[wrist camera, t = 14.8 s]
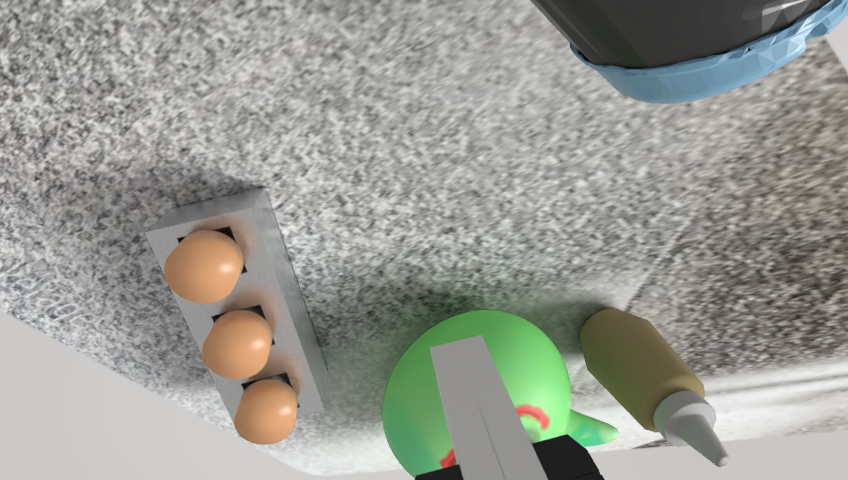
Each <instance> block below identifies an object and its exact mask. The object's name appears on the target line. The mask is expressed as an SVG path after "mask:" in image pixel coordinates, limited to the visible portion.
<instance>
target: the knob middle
mask: <svg viewBox="0 0 848 480" xmlns="http://www.w3.org/2000/svg"><path fill="white" fill-rule="evenodd" d="M272 340H273V334H272V329H271V327H270V325H269V324H268V322H267V321H266V318H265V316H264V313H263V310H262V308H261V305H256V306H252V307H248V308H243V309H239V310H235V311H231V312H228V313H225V314H223V315H222V316H220V317H219V318H218V319H217V320H216V321H215V323H214V324H213V326H212V328H211V330H210V332H209V334H208V336H207V338H206V340H205V342H204V344H203V347H202V356H203V359H204V362H205V364H206V365H207V366H208V368H209V369H210V370H211V371H213V372H214V373H216V374H217V375H219V376H222V377H225V378H229V379H244V378H248V377H251V376H253V375H255V374H257V373H258V372H259V371H260V370H261V369H262V368H263V367H264V366H265V364H266V362H267V359H268V355H269V351H270V348H271V344H272Z"/></svg>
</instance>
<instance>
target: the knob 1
mask: <svg viewBox="0 0 848 480" xmlns="http://www.w3.org/2000/svg"><path fill="white" fill-rule="evenodd" d="M243 265H244V259H243V255H242V252H241V250H240V248H239V246H238V245H237V243H236V241H235V238H234V236H233V233H232V230H231V228H230V226H228V227H224V228H219V229H215V230H202V231H197V232H194V233H192V234H190V235H188V236H186V237H185V238H184V239H183V240H182V241H181V242H180V243H179V245H178V246H177V247H176V248H175V249H174V250H173V251H172V252H171V254H170V255H169V256H168V258H167V260H166V262H165V267H164V273H165V278H166V281H167V283H168V285H169V286H170V288H171V289H172V290H173V291H174V292H175V293H176V294H177V295H179V296H180V297H182V298H184V299H186V300H188V301H191V302H194V303H201V304H207V303H214V302H217V301H219V300H222V299H223V298H225V297H226V296H227V295H229V294H230V292H231V291H232V290H233V288H234V286H235V284H236V282H237V280H238V278H239V276H240V274H241V272H242V269H243Z"/></svg>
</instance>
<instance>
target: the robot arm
mask: <svg viewBox="0 0 848 480" xmlns="http://www.w3.org/2000/svg"><path fill="white" fill-rule="evenodd" d="M531 2H532V3H533V4H534V5H535V6H536V7H537V8H538V9H539V10H540V11H541V12H542V13H543V14H544V16H545V17H546V18H547V19H548V20H549V21H550V22H551V23H552V24H553V25H554V26H555V27H556V28H557V29H558V31H559V32H560V33H561V34H562V35H563V36H564V37H565V38H566V39H567V40H568V41H569V42H570V48H571V50H572V51H573V53H574V54H575V55H576V56H577V57H578V58H579V60H580V61H582V62H583V63H584V64H586V65H589V66H590V67H592V68H593V69H595V70H597V71H598V72H599V73H600V74H601V75H602V76H603V77H604V78H605V79H606V80H607V81H608V82H609V83H610V84H611V85H612V86H613V87H614V88H615V89H616V90H618V91H619V92H621V93H622V94H624V95H626V96H629V97H631V98H634V99H636V100H638V101H643V102H647V103H657V104H674V103H683V102H690V101H695V100H699V99H703V98H707V97H711V96H715V95H718V94H721V93H724V92H727V91H730V90H733V89H736V88H738V87H741V86H743V85H745V84H748V83H750V82H752V81H755V80H757V79H759V78H761V77H763V76H765V75H767V74H769V73H771V72H772V71H774V70H776V69H778V68H780V67H781V66H783V65H785V64H787V63H788V62H790V61H791V60H793V59H794V58H796V57H798V56H799V55H800V54H802V53H803V52H804V51H805V49H806V40H808V39H810V38H812V37H816V36H821V35H825V34H828V33H829V32H830V31H831V30H833V29H834V28H835V27H836V26H837V25H838V24H839V23H840V22H841V21H842V20H843V19H844V18H845V17H846V16H847V15H848V0H531ZM430 352H431V357H432V361H433V365H434V370H435V374H436V379H437V383H438V388H439V392H440V397H441V401H442V405H443V410H444V414H445V419H446V423H447V427H448V431H449V435H450V439H451V443H452V446H453V450H454V454H455V458H456V462H457V465H454V466H450V467H446V468H442V469H439V470H435V471H431V472H427V473H423V474H420V475H416V477H415V480H604V478H603V476H602V475H600V472H599V470H598V468H597V466H596V465H595V463H594V462H593V460H592V458H591V456H590V454H589V453H588V451H587V449H585V448H584V447H583V446H582V445H580V444H579V443H578V442H577V441H575V440H574V439H573V438H572V437H570V436H569V435H568V434H566V435H562V436H558V437H554V438H551V439H547V440H543V441H539V442H535V443H532V444H531V442H530V439H529V437H528V435H527V433H526V431H525V429H524V426H523V424H522V422H521V420H520V418H519V415H518V413H517V411H516V409H515V407H514V405H513V402H512V400H511V398H510V396H509V394H508V392H507V389H506V387H505V385H504V383H503V381H502V378H501V376H500V374H499V372H498V370H497V368H496V365H495V363H494V361H493V359H492V357H491V355H490V352H489V350H488V348H487V346H486V344H485V341H484V339H483V337H482V335H479V336H475V337H471V338H467V339H463V340H459V341H455V342H451V343H446V344H442V345H438V346H434V347H430Z"/></svg>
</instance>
